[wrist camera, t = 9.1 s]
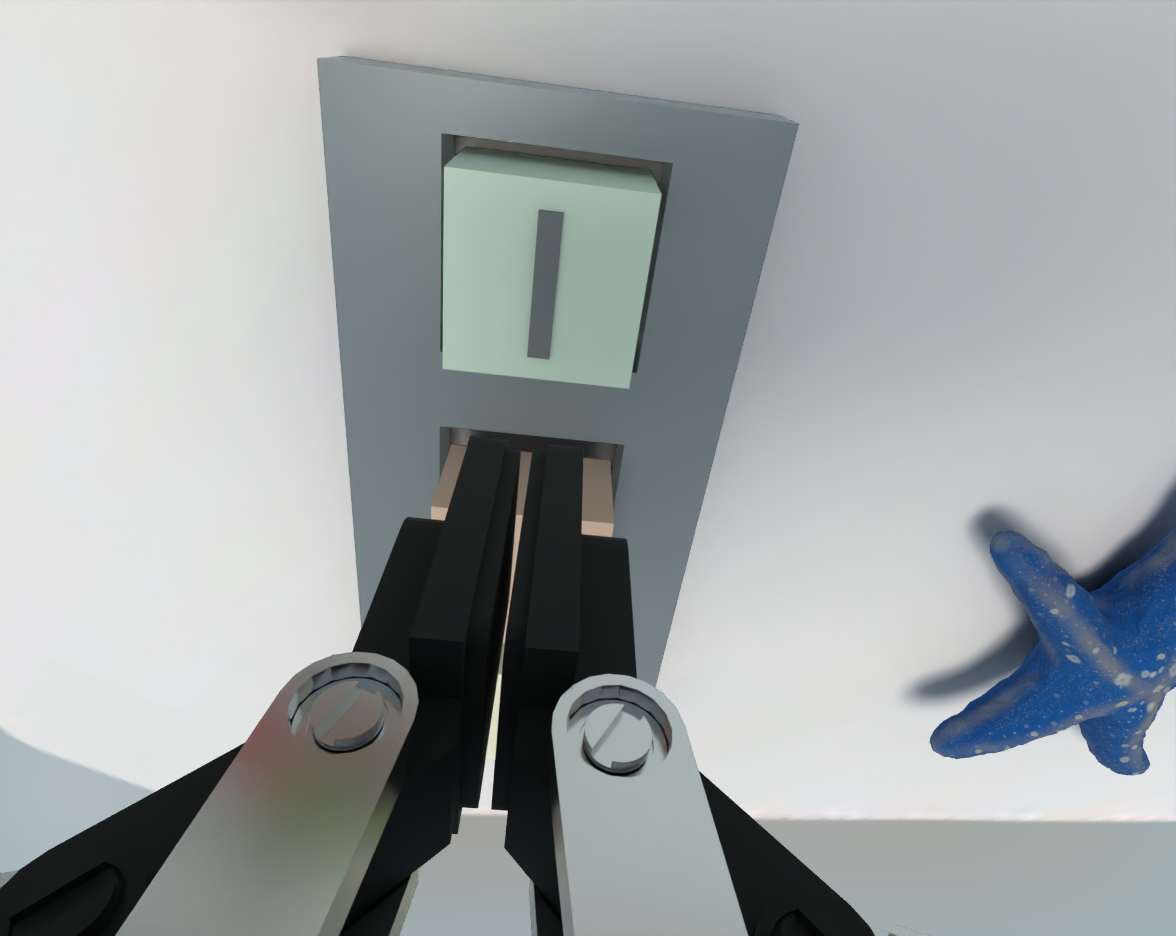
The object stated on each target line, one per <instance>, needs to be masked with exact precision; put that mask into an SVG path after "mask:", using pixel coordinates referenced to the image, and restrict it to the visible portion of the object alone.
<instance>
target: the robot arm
mask: <svg viewBox="0 0 1176 936" xmlns="http://www.w3.org/2000/svg"><path fill="white" fill-rule="evenodd" d="M583 454H584V449H583V448H580V447H570V446H561V445H552V444H548V446H547V454H546V453H536V452H532V457H531V464H530V471H529V478H528V485H527V491H526V498H525V505H524V512H523V519H522V526H521V532H520V539H519V546H518V553H517V560H516V567H515V573H514V580H513V587H512V594H511V601H510V608H509V614H508V621H507V628H506V636H505V645H504V654H503V665H502V678H501V691H500V704H499V717H498V730H497V743H496V756H495V769H494V782H493V795H492V808H491V809H493V810H506V811H508V816H507V826H506V836H505V846H504V847H505V849H506V850H507V851H508V852H509V854H510V855H511V856H512V857H513V858H514V860H515V861H516V862H517V863H518V865H519V866H520V867H521V868H522V869H523V871H524V872H525V873H526V874H527V876H528V877H529V878H530V882H529V901H530V917H531V932H532V936H929V935H926V934H923V933H919V932H917V931H914V930H910V929H907V928H904V927H901V926H898V925H896V926H895V927H894V928H893V930H892V931H891V932H890V933H888V932H885V931H882V930H879V929H876V928H873V927H870V926H869V925H868V924H867V923H866V922H865V921H864V920H863V919H862V918H861V917H860V916H859V915H858V913H857V912H856V911H855V910H854V909H853V908H852V907H851V906H850V905H849V904H848V903H847V902H846V901H845V900H843V898H841V897H840V896H839V895H838V894H837V893H836V892H835V891H834V890H832V889H831V888H830V887H829V886H828V885H827V884H826V883H825V882H823V881H822V880H821V879H820V878H819V877H818V876H817V875H816V874H814V873H813V872H812V871H811V870H810V869H809V868H808V867H806V866H805V865H804V864H803V863H802V862H801V861H800V860H799V859H797V858H796V857H795V856H794V855H793V854H792V853H791V852H790V851H788V850H787V849H786V848H785V847H784V846H783V845H782V844H781V843H779V842H778V841H777V840H776V839H775V838H774V837H773V836H771V835H770V834H769V833H768V832H767V831H766V830H765V829H764V828H763V827H761V826H760V825H759V824H758V823H757V822H756V821H755V820H754V819H752V818H751V817H750V816H749V815H748V814H747V813H746V812H745V811H743V810H742V809H741V808H740V807H739V806H738V805H737V804H736V803H734V802H733V801H732V800H731V799H730V798H729V797H728V796H727V795H725V794H724V793H723V792H722V791H721V790H720V789H719V788H718V787H716V786H715V785H714V784H713V783H712V782H711V781H710V780H709V779H707V778H706V777H705V776H704V775H703V774H702V773H701V772H700V771H699V770H698V767H697V764H696V760H695V757H694V754H693V750H692V747H691V744H690V741H689V737H688V734H687V731H686V727H685V724H684V722H683V720H682V718H681V716H680V714H679V712H678V710H677V708H676V707H675V706H674V704H673V703H672V702H671V701H670V700H669V699H668V698H667V697H666V696H665V694H664V693H662V692H661V691H659V690H658V689H656V688H655V687H653V686H652V685H650V684H648V683H647V682H644V681H642V680H639V679H637V671H636V656H635V641H634V626H633V610H632V595H631V580H630V565H629V550H628V542H627V539H626V538H616V537H606V536H596V535H586V534H582V495H583ZM520 459H521V451H518V450H508V440H505V439H495V438H486V437H477V436H470V439H469V442H468V445H467V448H466V452H465V455H464V458H463V462H462V465H461V468H460V471H459V475H458V478H457V481H456V485H455V488H454V491H453V494H452V498H451V501H450V504H449V507H448V511H447V514H446V517H445V520H435V519H425V518H415V517H407V518H406V519H405V520H404V522H403V524H402V526H401V528H400V531H399V533H398V536H397V538H396V541H395V543H394V546H393V549H392V551H391V554H390V556H389V559H388V561H387V564H386V567H385V569H384V572H383V574H382V577H381V579H380V582H379V585H378V587H377V590H376V592H375V595H374V597H373V600H372V603H371V605H370V608H369V610H368V613H367V615H366V618H365V621H364V623H363V626H362V628H361V631H360V633H359V636H358V639H357V641H356V644H355V646H354V649H353V651H352V652H350V653H344V654H337V655H332V656H330V657H327V658H325V659H322V660H319V661H317V662H314V663H312V664H311V665H309V666H308V667H306V668H305V669H303V670H302V671H300V672H299V673H297V674H296V675H294V676H293V677H292V679H291V680H290V681H289V682H288V683H287V684H286V685H285V686H284V687H283V689H282V690H281V691H280V692H279V694H278V695H277V697H276V698H275V700H274V701H273V703H272V704H271V705H270V707H269V708H268V710H267V711H266V713H265V714H264V716H263V717H262V719H261V720H260V722H259V723H258V725H257V726H256V728H255V729H254V731H253V732H252V734H251V735H250V737H249V738H248V740H247V741H246V743H244V744H242V745H240V746H238V747H236V748H235V749H233V750H231V751H229V752H227V753H225V754H224V755H222V756H220V757H218V758H216V759H214V760H213V761H211V762H209V763H207V764H205V765H204V766H202V767H200V768H198V769H196V770H194V771H193V772H191V773H189V774H187V775H185V776H183V777H182V778H180V779H178V780H176V781H174V782H172V783H171V784H169V785H167V786H165V787H163V788H161V789H160V790H158V791H156V792H154V793H152V794H150V795H149V796H147V797H145V798H143V799H142V800H140V801H138V802H136V803H134V804H132V805H130V806H129V807H127V808H125V809H123V810H121V811H119V812H118V813H116V814H114V815H112V816H110V817H108V818H107V819H105V820H103V821H101V822H99V823H97V824H96V825H94V826H92V827H90V828H88V829H86V830H85V831H83V832H81V833H79V834H77V835H75V836H74V837H72V838H70V839H68V840H66V841H65V842H63V843H61V844H59V845H57V846H55V847H54V848H52V849H50V850H48V851H47V852H45V853H44V854H43V855H41V856H39V857H38V858H36V859H35V860H33V861H32V862H30V863H29V864H27V865H26V866H24V867H23V868H21V869H20V870H17V871H12V872H5V873H0V936H399V935H400V933H401V930H402V927H403V924H404V921H405V919H406V916H407V913H408V910H409V907H410V904H411V902H412V899H413V896H414V893H415V890H416V887H417V884H418V881H419V876H420V871H421V866H422V865H423V864H425V863H426V862H427V861H428V860H430V859H431V858H432V857H433V856H435V855H436V854H437V853H439V852H440V851H441V850H442V849H444V848H445V847H446V846H448V845H449V844H450V841H451V835H452V834H458V829H459V822H460V817H461V811H462V807H467V808H478V805H479V799H480V793H481V786H482V779H483V773H484V766H485V759H486V752H487V746H488V739H489V732H490V726H491V719H492V712H493V705H494V699H495V692H496V685H497V679H498V672H499V665H500V658H501V652H502V645H503V638H504V631H505V625H506V618H507V611H508V604H509V596H510V586H511V573H512V560H513V548H514V535H515V523H516V510H517V497H518V485H519V472H520Z"/></svg>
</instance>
